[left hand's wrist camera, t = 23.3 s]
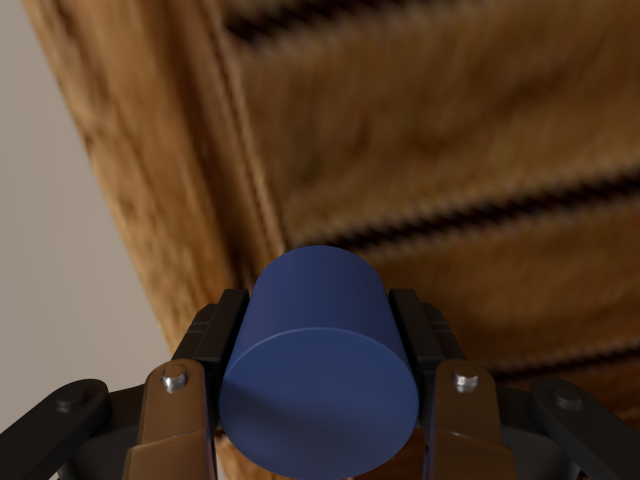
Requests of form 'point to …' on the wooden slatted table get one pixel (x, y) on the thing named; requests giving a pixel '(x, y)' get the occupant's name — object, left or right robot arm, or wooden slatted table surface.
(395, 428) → the canister
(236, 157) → the wooden slatted table surface
